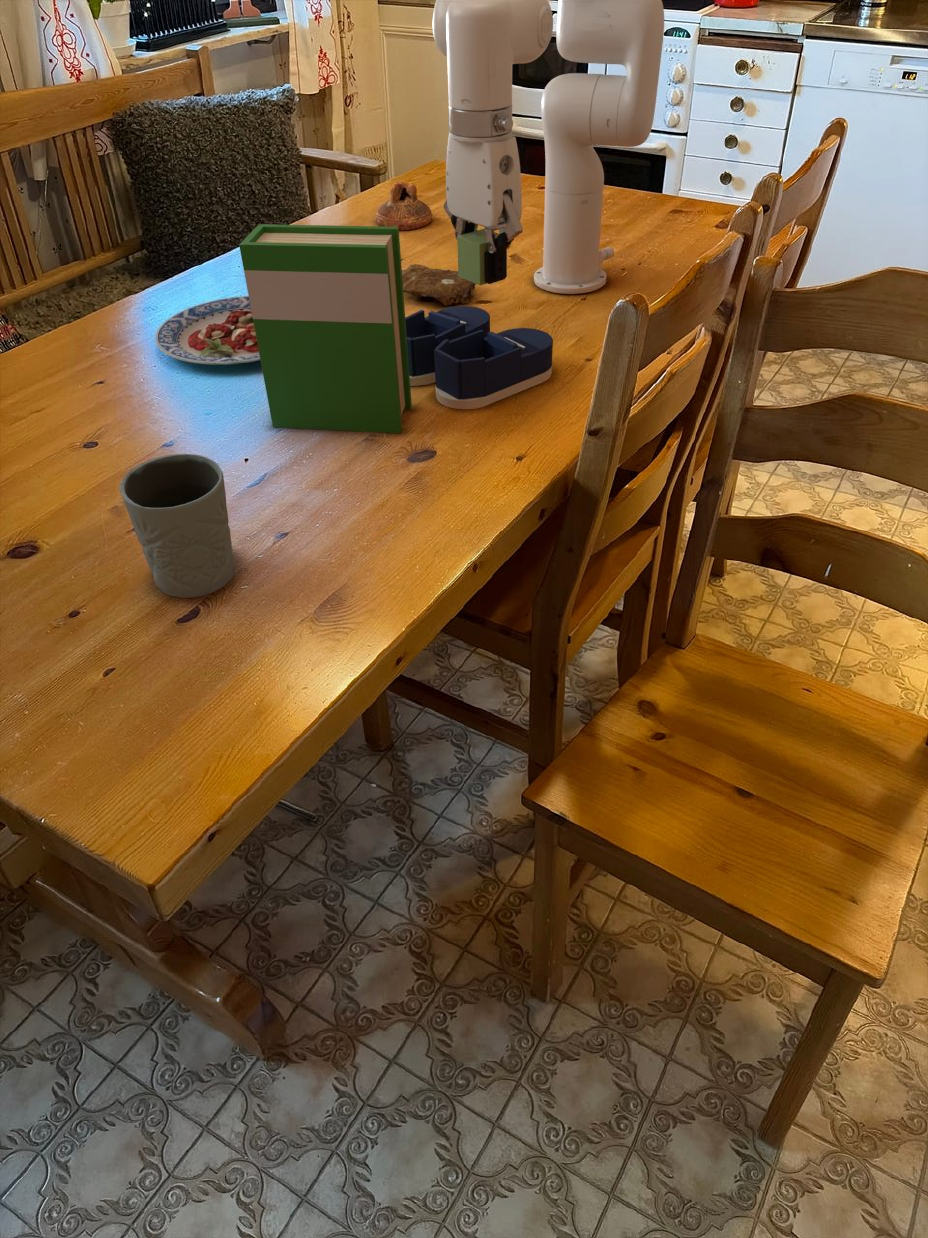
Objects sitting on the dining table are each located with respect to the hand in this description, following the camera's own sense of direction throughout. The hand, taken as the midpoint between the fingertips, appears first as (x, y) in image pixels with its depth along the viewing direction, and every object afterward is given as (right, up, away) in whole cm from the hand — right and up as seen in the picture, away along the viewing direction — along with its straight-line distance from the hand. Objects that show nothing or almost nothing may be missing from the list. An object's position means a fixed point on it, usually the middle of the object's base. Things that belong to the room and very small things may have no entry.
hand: (482, 274), depth 121 cm
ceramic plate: (-38, -1, +24) cm, 45 cm away
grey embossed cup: (-31, -41, -22) cm, 56 cm away
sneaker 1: (-6, -7, +17) cm, 19 cm away
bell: (-15, +36, +67) cm, 77 cm away
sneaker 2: (+2, -12, +10) cm, 16 cm away
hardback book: (-19, -18, +4) cm, 27 cm away
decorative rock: (-8, +10, +37) cm, 39 cm away
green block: (0, 0, 0) cm, 0 cm away
